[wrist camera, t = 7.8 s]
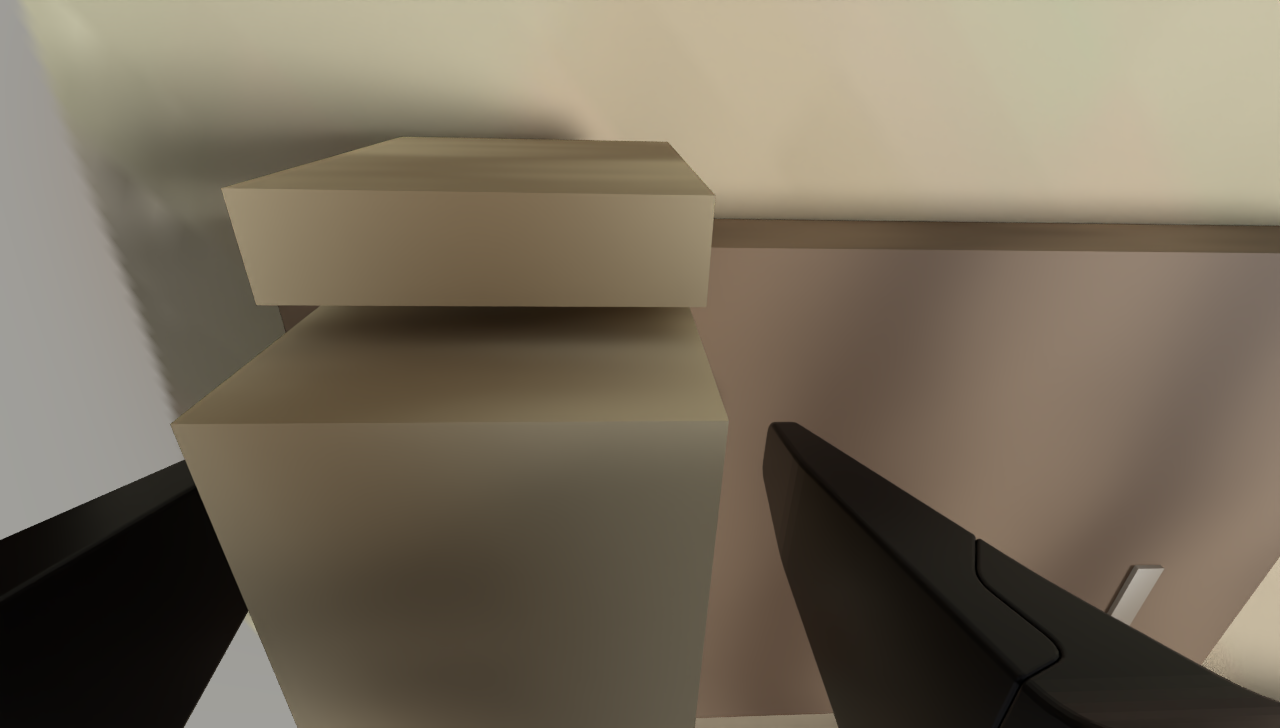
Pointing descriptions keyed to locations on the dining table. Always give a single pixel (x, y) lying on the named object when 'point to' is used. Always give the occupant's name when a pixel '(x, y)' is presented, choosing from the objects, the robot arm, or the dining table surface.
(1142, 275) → the walnut board
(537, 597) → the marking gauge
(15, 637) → the robot arm
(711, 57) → the dining table surface
